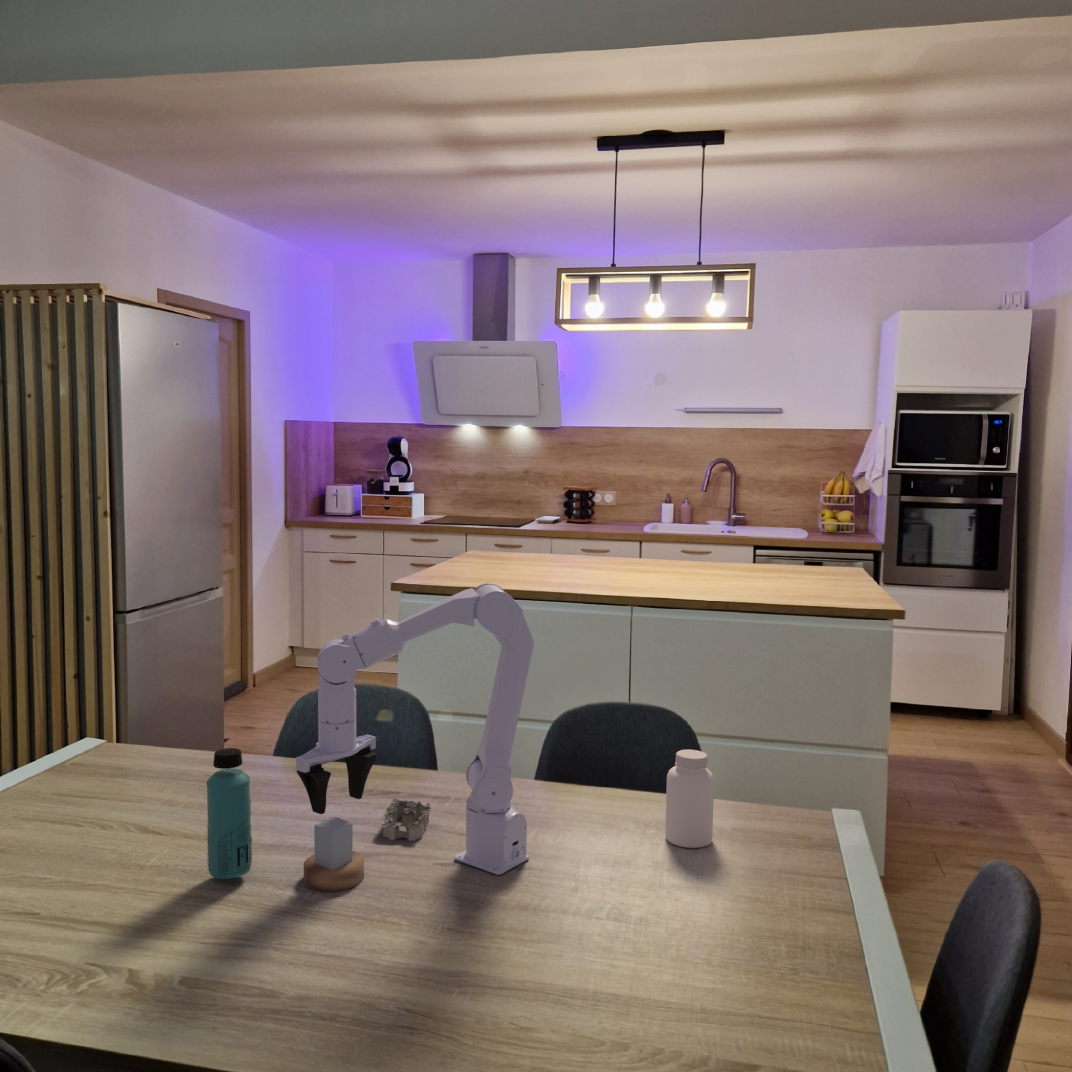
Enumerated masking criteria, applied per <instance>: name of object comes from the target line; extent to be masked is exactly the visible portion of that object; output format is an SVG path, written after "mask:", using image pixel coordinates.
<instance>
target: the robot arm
mask: <svg viewBox="0 0 1072 1072" xmlns="http://www.w3.org/2000/svg"><path fill="white" fill-rule="evenodd" d="M525 617H526V616H525V615H524V609H523V608H522V607H521V606H520V604H519V603H518V602H517V601H516V600H515V599H514V598H513V597H512V596H511V595H510V594H509V593H507V592H506V591H505V590H504V589H503V588H502V586H499V585H498V584H496V583H492V582H486V583H482V584H480V585H478V586H476V587H475V588H468V589H464V590H462V591H459V592H457V593H455V594H453V595H451V596H449V597H447V598H444V599H443V600H441V601H439V602H437V603H435V604H433V605H430V606H428V607H426V608H424V609H421V610H420V611H419V612H416V613H414V614H412V615H410V616H408V617H406V618H403V619H402V620H400V621H394V620H391V619H389V618H385V619H382V620H380V619H379V618H378V617H377V618H374V619H373V620H371V621H370V625H369V626H367V627H363V628H362V629H359V630H357V631H355V632H352V633H350V634H349V633H348V632H345V633H343V634H342V635H341V638H342V639H338V638H337V639H331V640H329V641H327V642H325V643H324V644H323V645H322V647H320V650H319V652H318V656H317V669H318V670H317V671H318V673H319V678H318V685H319V687H318V688H319V689H318V690H317V701H318V702H317V707H318V708H317V709H318V710H317V714H318V715H317V719H318V720H317V721H318V727H317V728H318V730H317V731H318V734H317V735H318V737H317V739H318V741H317V742H316V743H315V747H314V748H312V749H311V750H309V751H308V752H306V753H304V754H302V755H299V756H297V757H295V768H296V769H295V770H296V774H297V775H298V777H299V778H300V780H301V782H302V784H303V785H304V788H305V790H306V793H307V795H308V796H307V797H308V799H309V803H310V806H311V810H312V812H313V813H315V814H319V815H324V814H326V808H327V792H328V791H327V790H328V786H329V783H330V782H329V781H330V777H331V775H332V772H330V771H328V770H325V768H324V767H323V765H327V764H329V763H331V762H334V761H337V760H340V759H344V761H345V764H346V770H347V777H348V779H347V780H348V781H347V783H348V784H347V785H348V786H347V787H348V794H349V797H350V798H353V799H356V800H362V798H363V795H364V790H365V787H366V783H367V779H368V777H369V774H370V773H371V772H370V771H371V769H372V767H373V765H374V764H375V763H376V761H377V753H376V752H374V751H373V750H375V749H376V746H377V743H376V742H377V738H376V736H374V735H372V734H364V735H360V736H357V689H356V687H355V675H356V674H357V671H358V670H366V669H367V668H369V667H372V666H374V665H377V664H378V663H381V662H383V661H385V660H387V659H390V658H391V657H394V656H396V655H398V654H401V653H402V651H403V649H404V646H405V644H407V643H406V642H409V641H411V640H413V639H415V638H419V637H421V636H424V635H426V634H428V633H431V632H433V631H436V630H439V629H441V628H443V627H445V626H449V625H451V624H455V623H456V624H460V625H465V626H470V627H474V626H475V620H477V621H478V623H479V624H480V625H481V627H482V628H483V629H485V630H487V631H488V632H489V633H490V634H492V635H493V637H494V638H495V639H496V640H497V642H498V643H499V644H500V646H501V647H500V648H501V649H500V653H499V658H498V662H497V665H496V666H497V667H496V672H495V677H494V682H493V686H492V691H491V696H490V701H489V706H488V709H487V710H488V711H487V714H486V720H485V724H484V729H483V734H482V739H481V741H480V743H479V744H478V746H477V748H476V752H475V755H474V758H473V759H472V760H471V762H470V763H469V764H468V766H467V768H466V772H465V777H466V778H465V779H466V781H467V784H468V787H470V790H471V792H470V795H469V796H468V797H467V799H466V800H465V801H466V807H465V811H466V815H465V819H466V820H465V850H463V851H461V852H459V853H457V854H455V855H454V857H453V859H454V860H456V861H458V862H461V863H464V864H465V865H466V864H467V865H470V866H471V867H475V868H478V869H480V870H483V871H486V872H489V873H491V874H493V875H496V876H500V875H502V874H503V875H504V874H505V873H506V872H508V871H510V870H512V869H513V868H514V867H516V866H518V865H520V864H522V863H524V862H525V861H527V860H529V859H530V855H529V854H527V839H528V838H527V837H528V836H527V831H528V827H527V826H528V825H527V819H526V817H525V815H524V814H523V813H522V812H519V811H518V810H517V809H515V808H514V807H513V804H512V800H513V796H514V786H513V784H512V783H513V782H512V779H511V778H512V773H513V758H512V756H513V755H512V751H513V746H514V745H513V744H514V741H515V737H516V732H517V726H518V722H519V718H520V713H521V707H522V703H523V698H524V694H525V693H524V692H525V687H526V684H527V679H528V674H529V671H530V665H531V660H532V656H533V651H534V645H535V644H534V643H535V641H534V637H533V636H532V632H531V630H530V628H529V625H528V622H527V619H526V618H525Z"/></svg>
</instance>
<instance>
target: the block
mask: <svg viewBox="0 0 1072 1072" xmlns="http://www.w3.org/2000/svg"><path fill="white" fill-rule="evenodd" d="M313 830H314V831H313V832H314V854H315V863H316V864H318V865H321V866H323V867H326V868H328V869H331V870H334V869H336V868H338V867H341V866H343V865H345V864H347V863H349V862H352V851H353V840H354V839H353V837H354V836H353V822H351V821H347V820H345V819H342V818H338V817H336V816H333V817H331V818H327V819H326V820H323V821H320V822H317V823H316V824H314V829H313Z"/></svg>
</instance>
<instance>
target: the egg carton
mask: <svg viewBox="0 0 1072 1072" xmlns="http://www.w3.org/2000/svg"><path fill="white" fill-rule="evenodd" d="M431 810H432V809H431V804H430V803H429V802H428V803H426V804H425V805H424V804H422V801H417V802H416V801H414V800H407V799H405V800H402V799H400V798H399V799H398V798H395V797H394V798H393V799H392V801H391V803H390V804H389V806H388V807H386V809H385V811H384V812H383V814H382V816H381V817H380V823H381V826H382V829H383V830H382V836H383V837H384V838H387V839H388V840H389V841H395V840H396V839H399V838H401V839H402V838H405V839H407V840H408V842H409V841H411V842H412V841H413V842H414V841H416V840H419V839H423V837H424V832H425V831H426V830H427V823H429V822H430V813H431ZM400 817H401V825H399V824H397V819H399V818H400Z"/></svg>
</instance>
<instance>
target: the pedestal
mask: <svg viewBox="0 0 1072 1072" xmlns="http://www.w3.org/2000/svg"><path fill="white" fill-rule="evenodd" d="M364 878H365V857H364V856H363V855H362V854H361V853H360V852H359V853H358V852H356V851H353V850H352V862H349V863H347V864H345V865H343V866H341V867H338V868H336V869H334V870H331V869H328V868H326V867H323V866H321V865H318V864H316V863H315V853H313V854H312V855H310V856H309V857H307V858H306V859H305V860H304V862H303V883H304V885H305V887H307V888H308V889H311V890H313V889H314V890H313V891H316V890H318V891H317V892H323V893H326V892H327V893H333V892H334V891H336V892H340V891H341V890H342V891H346V890H349V889H351V888H352V889H353V888H354V887H356V886H358V885H359V884H361V883H362V881H363V880H364Z"/></svg>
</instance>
